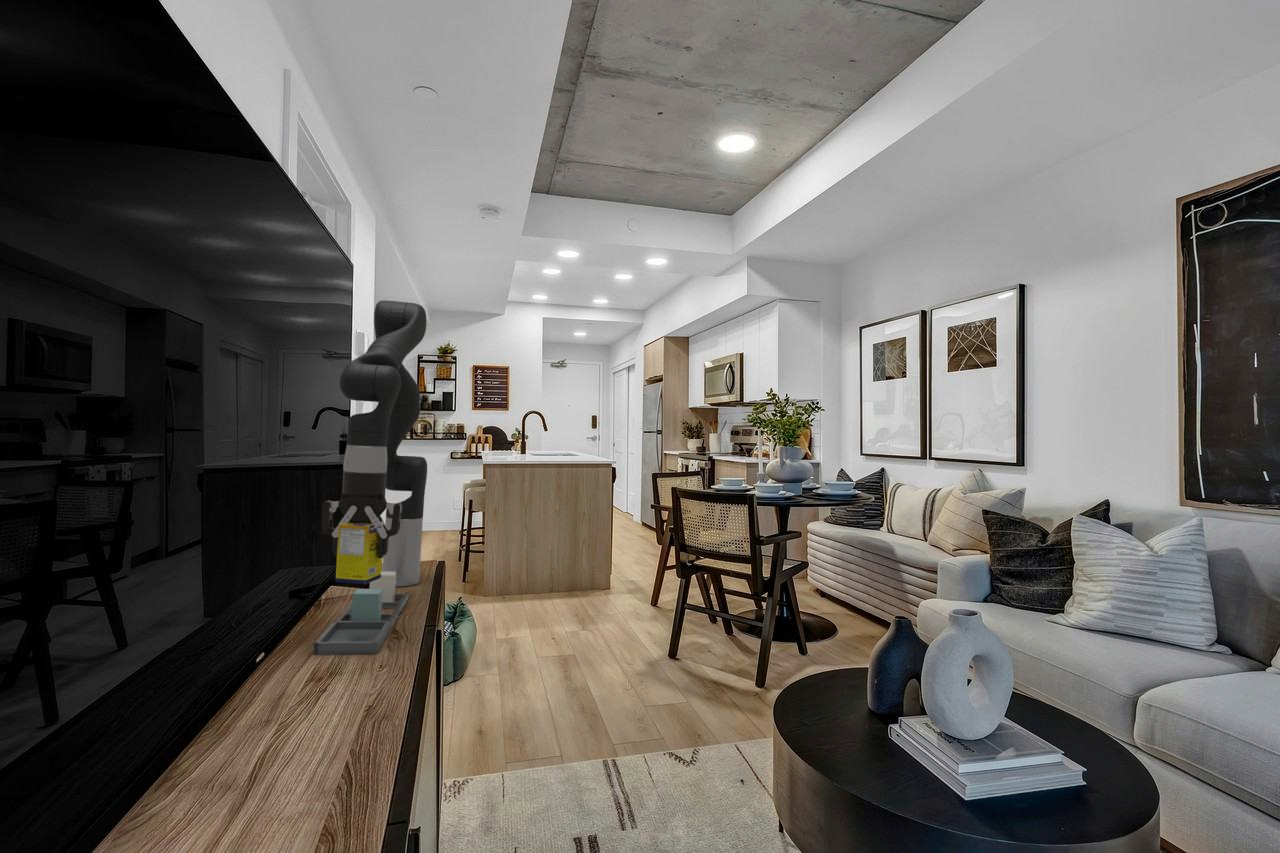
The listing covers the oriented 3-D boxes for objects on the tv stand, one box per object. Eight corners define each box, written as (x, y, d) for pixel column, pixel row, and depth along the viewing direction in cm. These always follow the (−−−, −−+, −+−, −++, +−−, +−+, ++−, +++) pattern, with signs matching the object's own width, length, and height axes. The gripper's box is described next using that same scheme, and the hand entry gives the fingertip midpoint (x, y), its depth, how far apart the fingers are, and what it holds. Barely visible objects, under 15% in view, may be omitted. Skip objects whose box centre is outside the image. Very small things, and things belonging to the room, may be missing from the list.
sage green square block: (355, 623, 131) (357, 588, 132) (380, 622, 132) (382, 589, 133) (350, 628, 128) (352, 593, 128) (376, 628, 129) (379, 593, 129)
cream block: (371, 601, 148) (373, 571, 148) (394, 601, 149) (396, 571, 149) (368, 606, 144) (370, 575, 144) (391, 606, 145) (393, 575, 145)
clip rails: (360, 599, 149) (361, 592, 150) (408, 599, 152) (408, 592, 152) (332, 631, 125) (333, 623, 125) (389, 631, 127) (390, 623, 127)
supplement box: (381, 578, 123) (385, 521, 123) (365, 585, 117) (369, 525, 117) (352, 575, 123) (355, 519, 124) (334, 582, 117) (338, 523, 118)
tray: (333, 631, 125) (334, 621, 125) (389, 630, 127) (390, 620, 127) (313, 654, 112) (314, 643, 112) (376, 653, 114) (377, 642, 114)
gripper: (408, 470, 126) (402, 554, 125) (329, 466, 123) (324, 553, 122) (402, 472, 118) (396, 562, 118) (318, 469, 115) (312, 560, 115)
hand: (359, 557), depth 120 cm, fingers closed on supplement box, 7 cm apart
